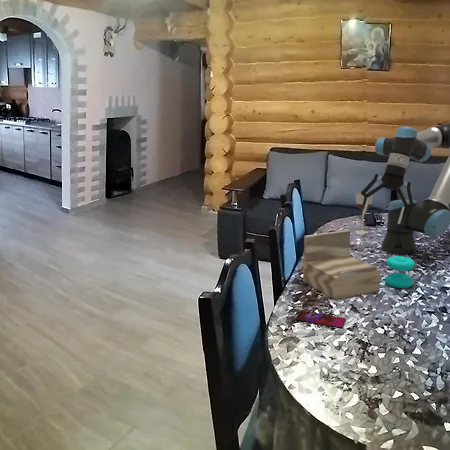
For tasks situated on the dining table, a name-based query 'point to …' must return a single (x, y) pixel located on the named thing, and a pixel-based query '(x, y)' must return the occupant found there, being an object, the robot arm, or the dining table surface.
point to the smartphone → (320, 319)
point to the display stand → (337, 266)
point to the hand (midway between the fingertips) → (381, 218)
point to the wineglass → (362, 208)
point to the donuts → (399, 278)
